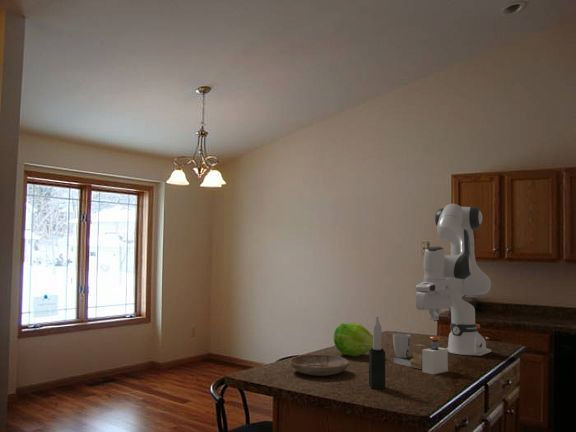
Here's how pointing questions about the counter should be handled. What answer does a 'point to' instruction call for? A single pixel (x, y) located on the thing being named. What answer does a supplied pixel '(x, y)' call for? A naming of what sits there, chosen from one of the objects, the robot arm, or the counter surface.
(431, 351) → the housing
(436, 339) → the plunger
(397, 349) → the cup
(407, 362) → the rail
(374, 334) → the candle
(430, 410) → the counter surface
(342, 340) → the lettuce
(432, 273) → the robot arm
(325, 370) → the ceramic bowl
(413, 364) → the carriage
